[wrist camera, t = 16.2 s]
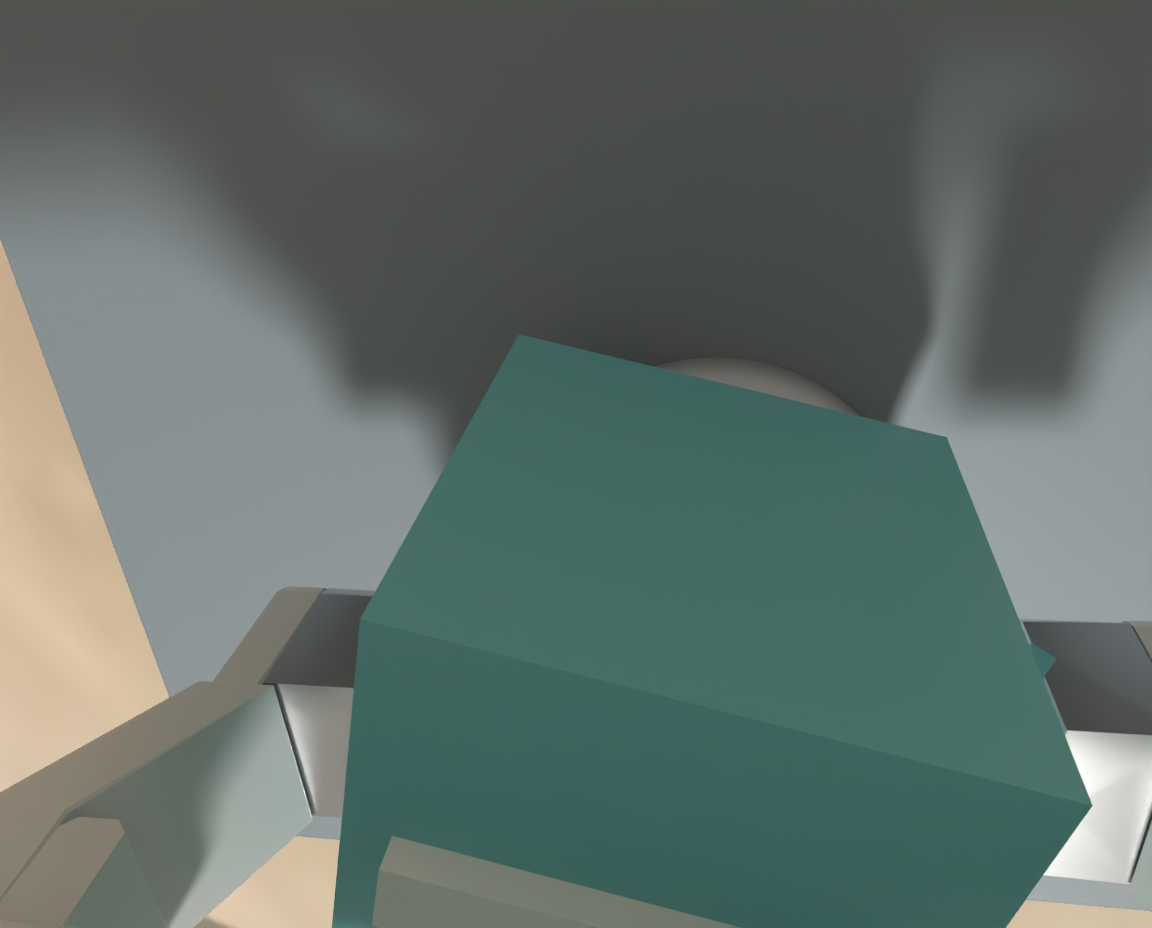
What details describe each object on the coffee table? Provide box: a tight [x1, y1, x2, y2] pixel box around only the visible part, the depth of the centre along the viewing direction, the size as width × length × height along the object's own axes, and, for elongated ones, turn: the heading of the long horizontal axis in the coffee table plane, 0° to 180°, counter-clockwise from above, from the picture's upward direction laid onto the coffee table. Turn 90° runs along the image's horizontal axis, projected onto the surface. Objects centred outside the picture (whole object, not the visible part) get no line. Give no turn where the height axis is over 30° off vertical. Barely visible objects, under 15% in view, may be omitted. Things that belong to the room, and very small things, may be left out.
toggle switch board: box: [0, 0, 1152, 911], centre depth 11 cm, size 18×14×6 cm
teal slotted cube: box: [332, 334, 1093, 928], centre depth 9 cm, size 5×5×5 cm
